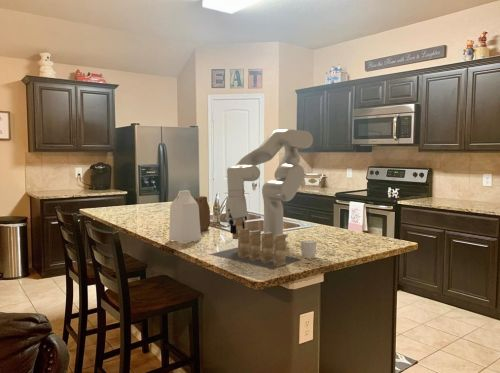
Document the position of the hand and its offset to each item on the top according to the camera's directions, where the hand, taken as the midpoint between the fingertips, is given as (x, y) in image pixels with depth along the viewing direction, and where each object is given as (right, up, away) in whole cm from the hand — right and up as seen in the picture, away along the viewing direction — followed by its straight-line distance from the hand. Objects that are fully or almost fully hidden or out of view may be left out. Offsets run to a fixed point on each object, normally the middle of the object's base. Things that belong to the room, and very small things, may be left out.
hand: (237, 231), depth 190 cm
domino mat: (+8, -10, -13) cm, 18 cm away
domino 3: (+13, -10, -22) cm, 27 cm away
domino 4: (+18, -10, -26) cm, 33 cm away
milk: (-28, -7, +25) cm, 38 cm away
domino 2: (+8, -10, -17) cm, 21 cm away
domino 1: (+3, -9, -13) cm, 16 cm away
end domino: (0, -3, 0) cm, 3 cm away
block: (-23, -5, +54) cm, 59 cm away
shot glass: (+31, -10, -12) cm, 35 cm away
